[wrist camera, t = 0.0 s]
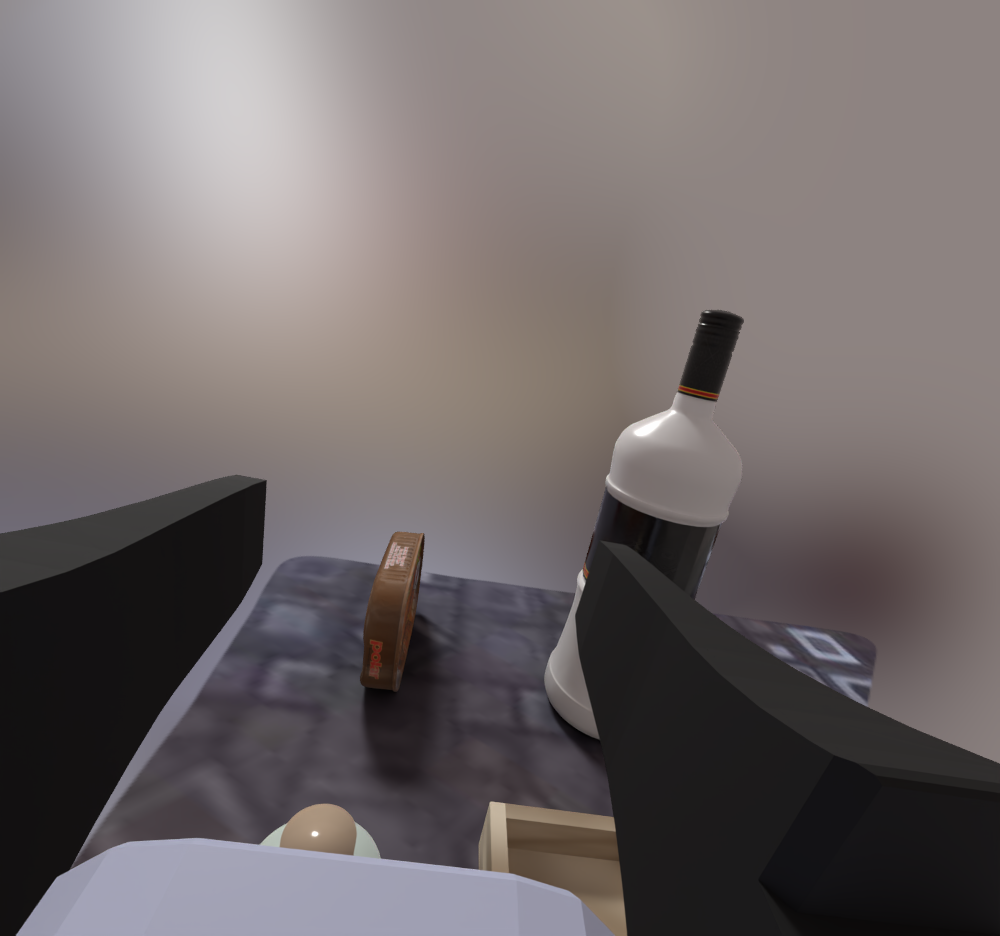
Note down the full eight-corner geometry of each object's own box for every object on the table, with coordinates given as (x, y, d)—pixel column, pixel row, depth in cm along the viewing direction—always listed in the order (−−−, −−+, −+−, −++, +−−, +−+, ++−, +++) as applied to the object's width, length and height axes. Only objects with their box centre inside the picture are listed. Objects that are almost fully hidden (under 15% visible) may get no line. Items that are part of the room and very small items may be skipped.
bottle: (344, 1078, 19) (375, 923, 16) (200, 1068, 18) (213, 906, 16) (372, 921, 23) (399, 784, 21) (258, 910, 23) (274, 768, 21)
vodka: (559, 749, 35) (696, 294, 27) (530, 659, 44) (627, 295, 36) (680, 753, 37) (842, 331, 29) (629, 667, 46) (743, 323, 38)
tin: (392, 719, 35) (412, 611, 32) (345, 712, 34) (362, 603, 32) (418, 600, 49) (434, 519, 47) (385, 594, 49) (399, 513, 47)
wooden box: (680, 1070, 21) (704, 1021, 20) (478, 1054, 20) (494, 1002, 19) (624, 861, 29) (640, 820, 28) (478, 844, 28) (490, 801, 27)
